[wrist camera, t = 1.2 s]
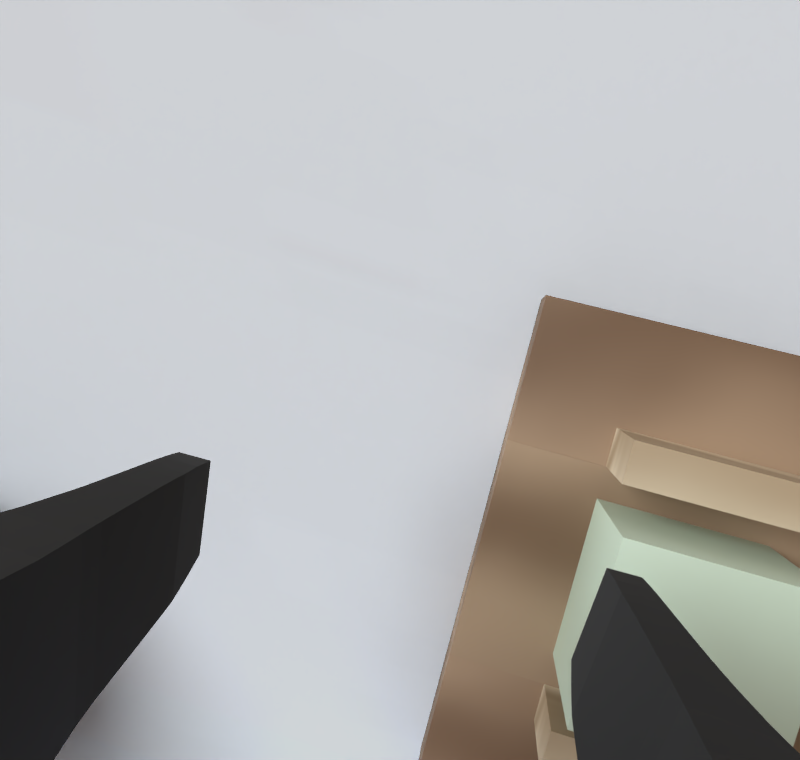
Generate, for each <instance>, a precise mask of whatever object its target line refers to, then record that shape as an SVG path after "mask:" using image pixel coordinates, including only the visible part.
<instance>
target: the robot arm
mask: <svg viewBox="0 0 800 760" xmlns="http://www.w3.org/2000/svg"><path fill="white" fill-rule="evenodd" d="M209 469H210V461H209V460H206V459H202V458H198V457H194V456H191V455H187V454H183V453H180V452H178V453H175V454H171V455H168V456H165V457H162V458H159V459H156V460H153V461H151V462H148V463H145V464H142V465H140V466H137V467H135V468H132V469H129V470H127V471H124V472H121V473H119V474H116V475H113V476H110V477H108V478H105V479H102V480H100V481H97V482H94V483H91V484H89V485H86V486H83V487H80V488H78V489H74V490H71V491H68V492H65V493H62V494H59V495H56V496H53V497H50V498H47V499H44V500H41V501H37V502H34V503H31V504H28V505H25V506H22V507H18V508H15V509H12V510H8V511H4V512H1V513H0V760H54V759H55V757H56V756H57V754H58V752H59V751H60V749H61V748H62V746H63V745H64V743H65V742H66V740H67V738H68V737H69V735H70V734H71V732H72V731H73V729H74V728H75V726H76V725H77V724H78V722H79V721H80V719H81V718H82V717H83V715H84V714H85V712H86V711H87V710H88V708H89V707H90V706H91V704H92V703H93V702H94V700H95V699H96V698H97V696H98V695H99V694H100V693H101V691H102V690H103V689H104V688H105V686H106V685H107V684H108V683H109V681H110V680H111V679H112V677H113V676H114V675H115V674H116V672H117V671H118V670H119V669H120V667H121V666H122V665H123V663H124V662H125V661H126V660H127V658H128V657H129V656H130V655H131V653H132V652H133V651H134V650H135V648H136V647H137V646H138V644H139V643H140V642H141V641H142V639H143V638H144V637H145V636H146V634H147V633H148V632H149V630H150V629H151V628H152V627H153V625H154V624H155V623H156V621H157V620H158V619H159V617H160V616H161V615H162V614H163V612H164V611H165V610H166V608H167V607H168V606H169V604H170V603H171V602H172V600H173V599H174V597H175V595H176V594H177V592H178V590H179V589H180V587H181V586H182V584H183V582H184V581H185V579H186V577H187V575H188V574H189V572H190V570H191V568H192V567H193V565H194V563H195V561H196V560H197V558H198V556H199V554H200V545H201V537H202V528H203V520H204V511H205V503H206V495H207V486H208V478H209ZM571 707H572V722H573V730H574V738H575V745H576V752H577V760H800V753H799V752H798V751H797V750H796V749H794V748H793V747H792V746H791V745H790V744H789V743H788V742H787V741H786V740H785V739H784V738H783V737H782V736H781V735H780V734H779V733H778V732H777V731H776V730H775V729H774V728H773V727H772V726H771V725H770V724H769V723H768V722H767V721H766V720H765V718H764V717H763V716H762V715H761V714H760V713H759V712H758V711H757V710H756V709H755V708H754V707H753V706H752V705H751V703H750V702H749V701H748V700H747V699H746V698H745V697H744V696H743V695H742V694H741V693H740V692H739V691H738V689H737V688H736V687H735V686H734V685H733V684H732V683H731V682H730V680H729V679H728V678H727V677H726V676H725V675H724V674H723V673H722V671H721V670H720V669H719V668H718V667H717V666H716V664H715V663H714V662H713V661H712V660H711V659H710V657H709V656H708V655H707V654H706V653H705V651H704V650H703V649H702V648H701V647H700V646H699V644H698V643H697V642H696V641H695V639H694V638H693V637H692V636H691V635H690V633H689V632H688V631H687V630H686V629H685V627H684V626H683V625H682V624H681V622H680V621H679V620H678V619H677V618H676V616H675V615H674V614H673V613H672V611H671V610H670V609H669V608H668V607H667V605H666V604H665V603H664V602H663V600H662V599H661V598H660V597H659V596H658V594H657V593H656V592H655V591H654V590H653V589H652V587H651V586H650V585H649V584H648V583H647V582H646V581H645V580H644V579H643V578H642V577H639V576H635V575H632V574H628V573H624V572H621V571H617V570H613V569H609V568H606V571H605V574H604V576H603V579H602V581H601V584H600V586H599V589H598V592H597V594H596V597H595V599H594V602H593V605H592V607H591V610H590V612H589V615H588V617H587V620H586V623H585V625H584V628H583V630H582V633H581V635H580V638H579V641H578V643H577V646H576V648H575V651H574V653H573V656H572V659H571Z"/></svg>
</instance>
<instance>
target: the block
mask: <svg viewBox="0 0 800 760" xmlns="http://www.w3.org/2000/svg"><path fill="white" fill-rule="evenodd" d="M606 568H609V569H613V570H617V571H621V572H624V573H628V574H632V575H635V576H639V577H642V578H643V579H644V580H645V581H646V582H647V583H648V584H649V585H650V586H651V587H652V589H653V590H654V591H655V592H656V593H657V594H658V596H659V597H660V598H661V599H662V600H663V602H664V603H665V604H666V605H667V607H668V608H669V609H670V610H671V611H672V613H673V614H674V615H675V616H676V618H677V619H678V620H679V621H680V622H681V624H682V625H683V626H684V627H685V629H686V630H687V631H688V632H689V633H690V635H691V636H692V637H693V638H694V639H695V641H696V642H697V643H698V644H699V646H700V647H701V648H702V649H703V650H704V651H705V653H706V654H707V655H708V656H709V657H710V659H711V660H712V661H713V662H714V663H715V664H716V666H717V667H718V668H719V669H720V670H721V671H722V673H723V674H724V675H725V676H726V677H727V678H728V679H729V680H730V682H731V683H732V684H733V685H734V686H735V687H736V688H737V689H738V691H739V692H740V693H741V694H742V695H743V696H744V697H745V698H746V699H747V700H748V701H749V702H750V703H751V705H752V706H753V707H754V708H755V709H756V710H757V711H758V712H759V713H760V714H761V715H762V716H763V717H764V718H765V720H766V721H767V722H768V723H769V724H770V725H771V726H772V727H773V728H774V729H775V730H776V731H777V732H778V733H779V734H780V735H781V736H782V737H783V738H784V739H785V740H786V741H787V742H788V743H789V744H790V745H791V746H792V747H793V746H794V743H795V740H796V736H797V733H798V730H799V727H800V569H799V568H798V567H797V566H795V565H794V564H793V563H791V562H790V561H789V560H787V559H786V558H784V557H783V556H782V555H780V554H779V553H778V552H776V551H775V550H774V549H772V548H771V547H769V546H767V545H763V544H760V543H756V542H753V541H749V540H745V539H742V538H738V537H734V536H731V535H727V534H724V533H720V532H716V531H713V530H709V529H705V528H702V527H698V526H695V525H691V524H687V523H684V522H680V521H677V520H673V519H669V518H666V517H662V516H658V515H655V514H651V513H648V512H644V511H640V510H637V509H633V508H629V507H626V506H622V505H619V504H615V503H611V502H608V501H604V500H601V499H597V500H596V503H595V507H594V510H593V514H592V517H591V521H590V524H589V528H588V532H587V535H586V539H585V542H584V546H583V549H582V553H581V556H580V560H579V563H578V567H577V570H576V574H575V577H574V581H573V584H572V588H571V591H570V595H569V598H568V602H567V605H566V609H565V613H564V616H563V620H562V623H561V627H560V630H559V634H558V637H557V641H556V644H555V648H554V651H553V658H554V663H555V668H556V673H557V679H558V684H559V689H560V694H561V700H562V705H563V710H564V715H565V721H566V726H567V730H570V731H573V732H574V730H573V722H572V707H571V659H572V656H573V653H574V651H575V648H576V646H577V643H578V641H579V638H580V635H581V633H582V630H583V628H584V625H585V623H586V620H587V617H588V615H589V612H590V610H591V607H592V605H593V602H594V599H595V597H596V594H597V592H598V589H599V586H600V584H601V581H602V579H603V576H604V574H605V571H606Z"/></svg>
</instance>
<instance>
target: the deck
mask: <svg viewBox="0 0 800 760" xmlns="http://www.w3.org/2000/svg"><path fill="white" fill-rule="evenodd" d="M597 499H601V500H604V501H608V502H611V503H615V504H619V505H622V506H626V507H629V508H633V509H637V510H640V511H644V512H648V513H651V514H655V515H658V516H662V517H666V518H669V519H673V520H677V521H680V522H684V523H687V524H691V525H695V526H698V527H702V528H705V529H709V530H713V531H716V532H720V533H724V534H727V535H731V536H734V537H738V538H742V539H745V540H749V541H753V542H756V543H760V544H763V545H767V546H769V547H771V548H772V549H774V550H775V551H776V552H778V553H779V554H780V555H782V556H783V557H784V558H786V559H787V560H789V561H790V562H791V563H793V564H794V565H795V566H797V567H798V568H799V569H800V356H797V355H793V354H789V353H785V352H781V351H776V350H772V349H768V348H764V347H760V346H756V345H752V344H747V343H743V342H739V341H735V340H731V339H727V338H722V337H718V336H714V335H710V334H706V333H702V332H697V331H693V330H689V329H685V328H681V327H677V326H672V325H668V324H664V323H660V322H656V321H652V320H648V319H643V318H639V317H635V316H631V315H627V314H623V313H618V312H614V311H610V310H606V309H602V308H598V307H593V306H589V305H585V304H581V303H577V302H573V301H568V300H564V299H560V298H556V297H552V296H548V295H546V296H545V297H544V298H543V299H542V300H541V303H540V307H539V311H538V314H537V318H536V322H535V325H534V329H533V333H532V337H531V340H530V344H529V348H528V351H527V355H526V359H525V363H524V366H523V370H522V374H521V377H520V381H519V385H518V389H517V392H516V396H515V400H514V404H513V407H512V411H511V415H510V418H509V422H508V426H507V430H506V433H505V437H504V441H503V444H502V448H501V452H500V456H499V459H498V463H497V467H496V471H495V474H494V478H493V482H492V485H491V489H490V493H489V497H488V500H487V504H486V508H485V511H484V515H483V519H482V523H481V526H480V530H479V534H478V538H477V541H476V545H475V549H474V552H473V556H472V560H471V564H470V567H469V571H468V575H467V578H466V582H465V586H464V590H463V593H462V597H461V601H460V605H459V608H458V612H457V616H456V619H455V623H454V627H453V631H452V634H451V638H450V642H449V645H448V649H447V653H446V657H445V660H444V664H443V668H442V672H441V675H440V679H439V683H438V686H437V690H436V694H435V698H434V701H433V705H432V709H431V712H430V716H429V720H428V724H427V727H426V731H425V735H424V739H423V742H422V746H421V751H420V757H419V760H577V752H576V745H575V738H574V732H573V731H570V730H567V726H566V721H565V715H564V710H563V705H562V700H561V694H560V689H559V684H558V679H557V673H556V668H555V663H554V658H553V651H554V648H555V644H556V641H557V637H558V634H559V630H560V627H561V623H562V620H563V616H564V613H565V609H566V605H567V602H568V598H569V595H570V591H571V588H572V584H573V581H574V577H575V574H576V570H577V567H578V563H579V560H580V556H581V553H582V549H583V546H584V542H585V539H586V535H587V532H588V528H589V524H590V521H591V517H592V514H593V510H594V507H595V503H596V500H597ZM793 748H794V749H796V750H797V751H798V752H799V753H800V727H799V730H798V733H797V736H796V740H795V743H794V746H793Z"/></svg>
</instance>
